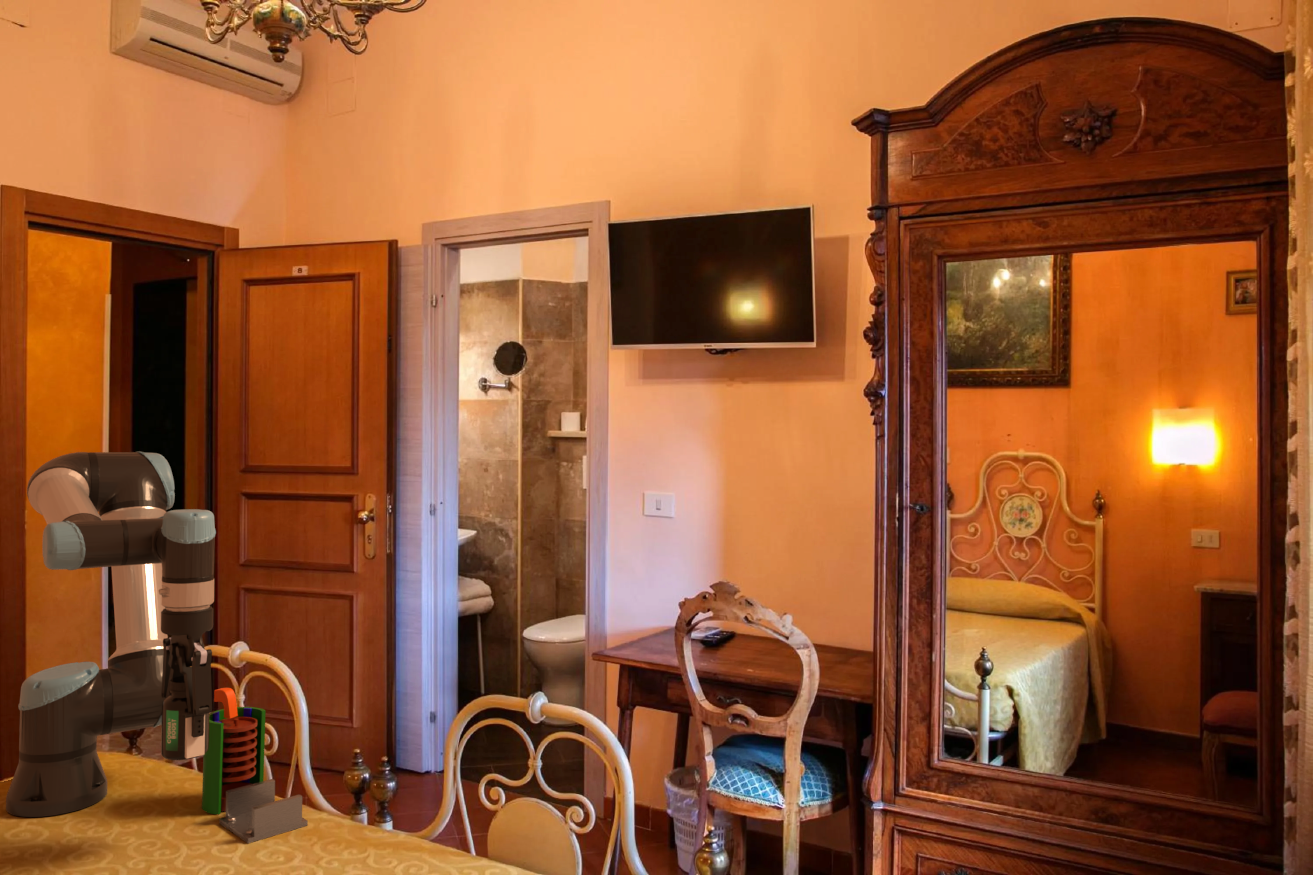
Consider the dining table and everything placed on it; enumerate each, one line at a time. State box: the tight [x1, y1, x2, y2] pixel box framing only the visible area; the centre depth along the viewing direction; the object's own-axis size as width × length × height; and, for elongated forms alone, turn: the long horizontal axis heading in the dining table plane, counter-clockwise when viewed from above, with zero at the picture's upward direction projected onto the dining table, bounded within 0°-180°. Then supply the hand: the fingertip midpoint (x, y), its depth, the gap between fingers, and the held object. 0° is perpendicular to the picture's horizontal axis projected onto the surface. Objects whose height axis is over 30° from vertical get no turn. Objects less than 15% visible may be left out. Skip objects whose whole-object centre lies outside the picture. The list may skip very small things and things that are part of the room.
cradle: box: [219, 778, 308, 844], centre depth 159 cm, size 11×10×5 cm
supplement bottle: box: [160, 676, 209, 761], centre depth 151 cm, size 7×7×12 cm
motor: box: [201, 687, 266, 815], centre depth 167 cm, size 10×9×20 cm
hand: (185, 749), depth 151 cm, fingers closed on supplement bottle, 7 cm apart
